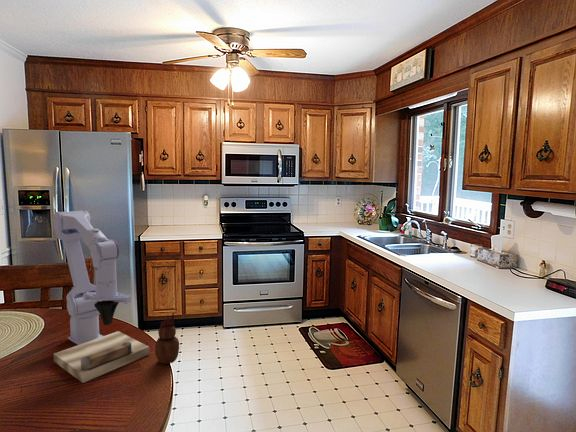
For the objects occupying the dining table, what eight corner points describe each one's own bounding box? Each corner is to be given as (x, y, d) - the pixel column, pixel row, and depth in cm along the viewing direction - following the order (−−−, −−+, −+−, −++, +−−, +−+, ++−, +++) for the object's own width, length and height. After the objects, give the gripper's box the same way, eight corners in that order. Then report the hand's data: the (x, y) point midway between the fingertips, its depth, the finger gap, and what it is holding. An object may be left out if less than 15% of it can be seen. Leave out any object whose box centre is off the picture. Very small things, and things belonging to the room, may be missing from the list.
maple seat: (54, 361, 110) (53, 353, 109) (118, 338, 126) (118, 330, 125) (82, 383, 99) (82, 373, 99) (149, 354, 115) (149, 346, 115)
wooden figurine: (181, 356, 114) (180, 310, 112) (176, 366, 109) (175, 317, 107) (159, 356, 114) (158, 309, 112) (153, 366, 108) (151, 317, 107)
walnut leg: (83, 370, 100) (83, 362, 99) (79, 367, 101) (79, 359, 101) (133, 351, 111) (133, 343, 110) (128, 349, 112) (128, 341, 112)
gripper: (75, 282, 108) (77, 326, 110) (120, 286, 106) (121, 331, 108) (91, 276, 115) (93, 317, 117) (134, 279, 113) (135, 321, 115)
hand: (107, 323), depth 113 cm, fingers closed
